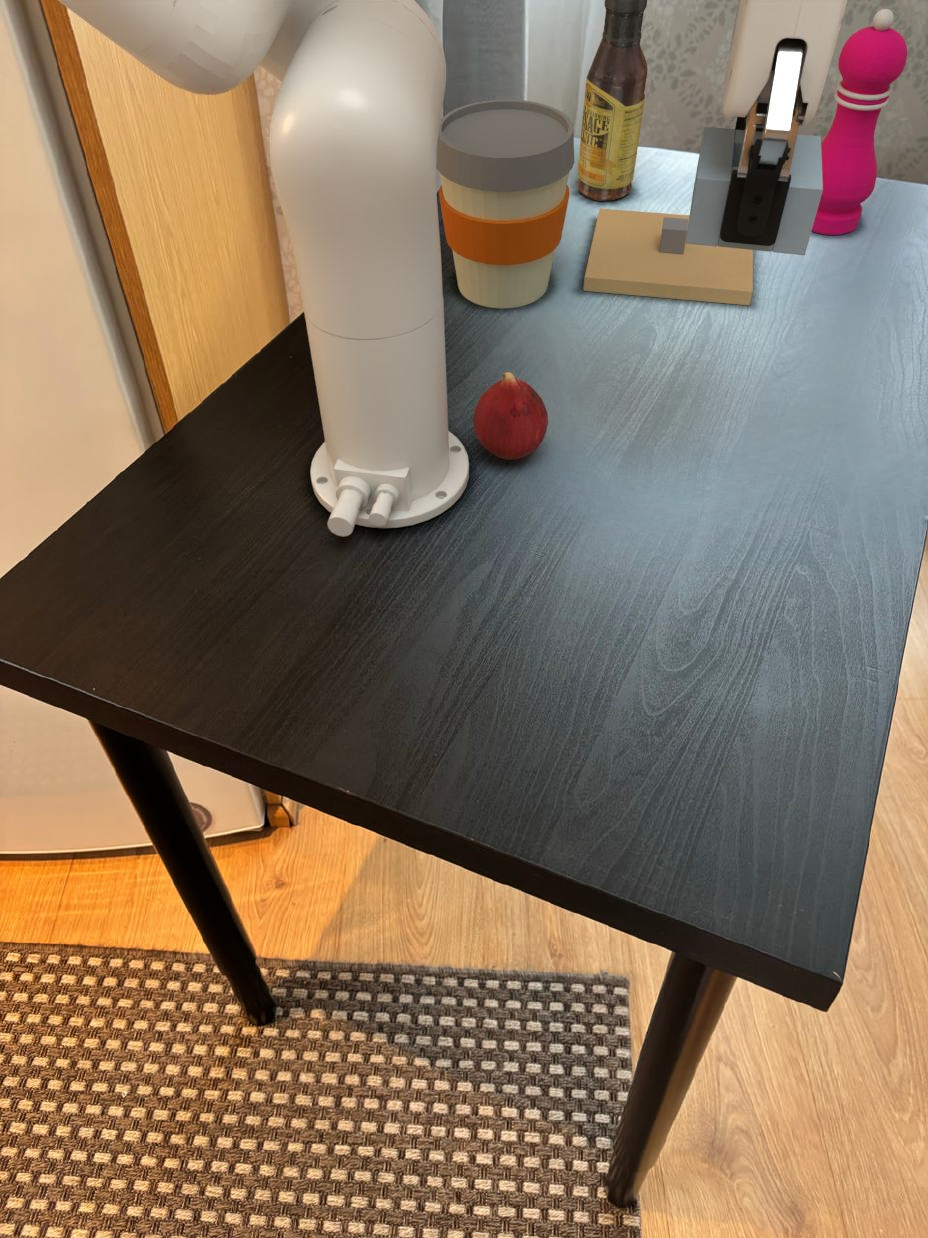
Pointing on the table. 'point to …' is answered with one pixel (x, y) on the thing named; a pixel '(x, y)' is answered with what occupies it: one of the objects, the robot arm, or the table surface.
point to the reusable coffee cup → (504, 196)
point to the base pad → (664, 260)
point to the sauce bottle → (613, 104)
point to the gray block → (714, 183)
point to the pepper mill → (857, 123)
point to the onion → (510, 418)
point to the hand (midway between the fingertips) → (749, 207)
